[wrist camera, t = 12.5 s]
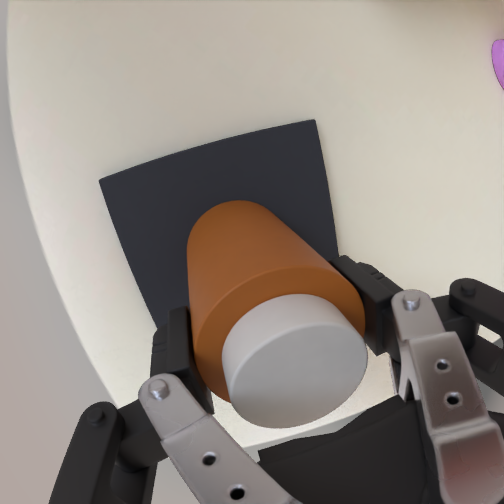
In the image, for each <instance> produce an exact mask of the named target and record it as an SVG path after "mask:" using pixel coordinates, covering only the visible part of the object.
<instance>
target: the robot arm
mask: <svg viewBox="0 0 504 504" xmlns="http://www.w3.org/2000/svg"><path fill="white" fill-rule="evenodd" d="M327 262H328V263H329V264H330V265H331V266H332V267H334V268H335V269H336V270H337V271H338V272H339V273H340V274H341V275H342V276H343V277H344V278H346V279H347V280H348V281H349V282H350V283H351V284H352V285H353V286H354V288H355V289H356V290H357V292H358V293H359V295H360V298H361V300H362V302H363V306H364V310H365V333H364V337H363V340H364V342H365V343H366V344H367V345H368V347H369V348H370V349H371V350H372V351H373V353H374V354H375V355H376V356H378V355H381V354H383V353H385V352H388V353H389V355H390V356H389V365H390V370H391V376H392V382H393V388H394V395H395V396H393V397H391V398H389V399H387V400H385V401H383V402H381V403H379V404H377V405H375V406H373V407H371V408H369V409H367V410H366V411H365V412H363V413H362V414H361V415H359V416H358V417H357V418H355V419H354V420H353V421H351V422H350V423H348V424H347V425H346V426H344V427H343V428H341V429H340V430H338V431H337V432H334V433H329V434H324V435H318V436H311V437H305V438H298V439H293V440H290V441H287V442H284V443H281V444H278V445H275V446H272V447H269V448H265V449H262V450H258V454H259V457H260V461H259V462H257V463H256V462H255V461H254V460H253V459H252V458H251V457H250V456H249V455H248V454H247V453H246V452H245V451H244V450H243V449H242V447H241V446H240V445H239V444H238V443H237V442H236V441H235V440H234V439H233V438H232V437H231V436H230V435H229V433H228V432H227V431H226V430H225V429H224V428H223V427H222V426H221V425H220V423H219V422H218V421H217V420H216V419H215V418H214V417H213V416H212V415H213V414H215V413H214V407H213V401H212V395H211V390H210V389H209V388H208V387H207V386H206V385H205V383H204V381H203V379H202V377H201V375H200V373H199V371H198V369H197V367H196V364H195V360H194V351H193V340H192V328H191V315H190V311H189V308H188V307H187V305H185V306H182V307H179V308H175V309H172V310H169V311H168V322H167V324H166V325H163V326H159V328H158V329H157V331H156V332H155V334H154V336H153V347H152V357H151V370H150V378H149V379H148V380H147V381H145V382H144V383H143V385H142V386H141V388H140V389H139V392H138V398H139V399H137V400H136V401H134V402H132V403H130V404H128V405H126V406H124V407H122V408H120V409H116V407H115V406H114V405H113V404H112V403H110V402H98V403H95V404H93V405H91V406H90V407H88V408H87V409H86V410H85V411H84V412H83V414H82V415H81V417H80V419H79V422H78V424H77V427H76V429H75V432H74V434H73V437H72V439H71V442H70V444H69V447H68V449H67V452H66V455H65V457H64V460H63V463H62V466H61V468H60V471H59V474H58V477H57V480H56V482H55V485H54V488H53V491H52V494H51V497H50V500H49V504H151V500H152V493H153V487H154V481H155V476H156V469H157V464H158V462H159V461H161V460H163V459H166V458H168V457H169V458H170V460H171V461H172V463H173V464H174V466H175V468H176V469H177V471H178V472H179V474H180V475H181V477H182V478H183V480H184V481H185V483H186V484H187V486H188V487H189V489H190V490H191V492H192V493H193V494H194V496H195V497H196V499H197V500H198V501H199V503H200V504H504V414H503V413H497V412H492V411H487V408H486V405H485V403H484V400H483V397H482V394H481V391H480V389H479V386H478V383H477V380H476V378H477V379H478V380H480V381H481V382H483V383H484V384H486V385H487V386H489V387H490V388H492V389H493V390H495V391H496V392H498V393H499V394H500V395H502V396H503V397H504V345H503V349H501V348H499V347H498V346H496V345H494V344H493V343H491V342H489V341H487V340H486V339H484V338H482V337H481V336H479V335H477V334H478V330H479V326H480V324H481V325H483V326H484V327H486V328H488V329H490V330H492V331H493V332H495V333H497V334H498V335H500V337H501V338H502V340H503V344H504V292H501V291H499V290H497V289H495V288H493V287H491V286H489V285H486V284H484V283H482V282H480V281H477V280H475V279H470V278H462V279H458V280H455V281H454V282H453V283H452V284H451V285H450V290H449V295H445V296H441V297H436V298H430V296H429V295H428V294H426V293H425V292H423V291H420V290H403V289H402V288H400V287H399V286H398V285H396V284H395V283H394V282H393V281H391V280H390V279H389V278H387V277H385V275H383V274H382V273H381V272H379V271H378V270H377V269H375V268H374V267H373V266H371V265H368V264H365V263H362V262H359V263H356V262H354V261H353V260H352V259H350V258H349V257H348V256H347V255H343V256H340V257H337V258H334V259H331V260H328V261H327Z"/></svg>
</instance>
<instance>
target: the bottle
mask: <svg viewBox="0 0 504 504" xmlns="http://www.w3.org/2000/svg"><path fill="white" fill-rule="evenodd" d="M187 268H188V286H189V301H190V315H191V328H192V340H193V351H194V360H195V364H196V367H197V369H198V371H199V373H200V375H201V377H202V379H203V381H204V383H205V385H206V386H207V387H208V388H209V389H210V390H211V391H212V392H213V393H214V394H215V395H217V396H218V397H220V398H221V399H223V400H225V401H227V402H229V403H231V404H232V406H233V408H234V409H235V411H236V412H237V413H238V414H239V415H240V416H241V417H242V418H244V419H245V420H246V421H248V422H250V423H252V424H255V425H257V426H261V427H266V428H290V427H296V426H300V425H304V424H307V423H310V422H312V421H315V420H317V419H319V418H321V417H323V416H325V415H327V414H329V413H330V412H332V411H333V410H335V409H336V408H338V407H339V406H340V405H341V404H342V403H344V402H345V401H346V400H347V399H348V398H349V397H350V396H351V395H352V394H353V392H354V391H355V390H356V388H357V387H358V385H359V384H360V382H361V380H362V378H363V376H364V374H365V371H366V368H367V362H368V353H367V347H366V344H365V342H364V340H363V337H364V333H365V310H364V306H363V302H362V300H361V298H360V295H359V293H358V292H357V290H356V289H355V288H354V286H353V285H352V284H351V283H350V282H349V281H348V280H347V279H346V278H344V277H343V276H342V275H341V274H340V273H339V272H338V271H337V270H336V269H335V268H334V267H332V266H331V265H330V264H329V263H328V262H327V261H326V260H325V259H324V258H323V257H321V256H320V255H319V254H318V253H317V252H316V251H315V250H314V249H313V248H311V247H310V246H309V245H308V244H307V243H306V242H305V241H304V240H303V239H301V238H300V237H299V236H298V235H297V234H296V233H295V232H294V231H292V230H291V229H290V228H289V227H288V226H287V225H286V224H284V223H283V222H282V221H281V220H280V219H279V218H278V217H276V216H275V215H274V214H273V213H272V212H271V211H269V210H268V209H267V208H265V207H264V206H262V205H259V204H257V203H254V202H250V201H244V200H235V201H228V202H224V203H221V204H219V205H216V206H215V207H213V208H211V209H210V210H208V211H207V212H205V213H204V214H203V215H202V216H201V217H200V218H199V219H198V221H197V222H196V223H195V225H194V226H193V228H192V230H191V232H190V235H189V238H188V243H187Z"/></svg>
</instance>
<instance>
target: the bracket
mask: <svg viewBox="0 0 504 504" xmlns="http://www.w3.org/2000/svg"><path fill="white" fill-rule="evenodd" d="M492 59H493V65H494V69H495V72H496V75H497V77H498V80H499V82H500V84H501V86H502V87H503V89H504V39H503V40H496V41H495V42H494V44H493V47H492Z"/></svg>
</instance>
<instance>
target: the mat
mask: <svg viewBox="0 0 504 504" xmlns="http://www.w3.org/2000/svg"><path fill="white" fill-rule="evenodd" d="M99 183H100V187H101V190H102V193H103V196H104V199H105V202H106V205H107V207H108V210H109V213H110V216H111V219H112V222H113V224H114V227H115V230H116V232H117V235H118V238H119V240H120V243H121V246H122V248H123V251H124V253H125V256H126V258H127V261H128V263H129V266H130V268H131V271H132V273H133V275H134V278H135V280H136V282H137V285H138V287H139V289H140V292H141V294H142V296H143V298H144V301H145V303H146V305H147V307H148V309H149V312H150V314H151V316H152V318H153V320H154V322H155V324H156V327H157V329H158V328H159V326H163V325H166V324H167V322H168V311H169V310H172V309H175V308H179V307H182V306H185V305H187V307H188V308H189V311H190V301H189V286H188V268H187V243H188V238H189V235H190V232H191V230H192V228H193V226H194V225H195V223H196V222H197V221H198V219H199V218H200V217H201V216H202V215H203V214H204V213H205V212H207V211H208V210H210V209H211V208H213V207H215V206H216V205H219V204H221V203H224V202H228V201H235V200H244V201H250V202H254V203H257V204H259V205H262V206H264V207H265V208H267V209H268V210H269V211H271V212H272V213H273V214H274V215H275V216H276V217H278V218H279V219H280V220H281V221H282V222H283V223H284V224H286V225H287V226H288V227H289V228H290V229H291V230H292V231H294V232H295V233H296V234H297V235H298V236H299V237H300V238H301V239H303V240H304V241H305V242H306V243H307V244H308V245H309V246H310V247H311V248H313V249H314V250H315V251H316V252H317V253H318V254H319V255H320V256H321V257H323V258H324V259H325V260H326V261H328V260H331V259H334V258H337V257H339V254H338V247H337V239H336V232H335V225H334V219H333V212H332V206H331V200H330V194H329V188H328V182H327V177H326V171H325V166H324V161H323V155H322V150H321V145H320V140H319V136H318V131H317V126H316V121H315V120H314V119H313V120H307V121H302V122H297V123H291V124H287V125H282V126H277V127H272V128H268V129H263V130H259V131H255V132H250V133H246V134H242V135H238V136H234V137H230V138H226V139H222V140H219V141H215V142H211V143H208V144H204V145H201V146H197V147H194V148H190V149H187V150H184V151H180V152H177V153H174V154H171V155H167V156H164V157H161V158H158V159H155V160H152V161H149V162H146V163H143V164H140V165H137V166H134V167H132V168H129V169H126V170H123V171H120V172H118V173H115V174H112V175H110V176H107V177H104V178H102V179H100V180H99Z"/></svg>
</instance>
